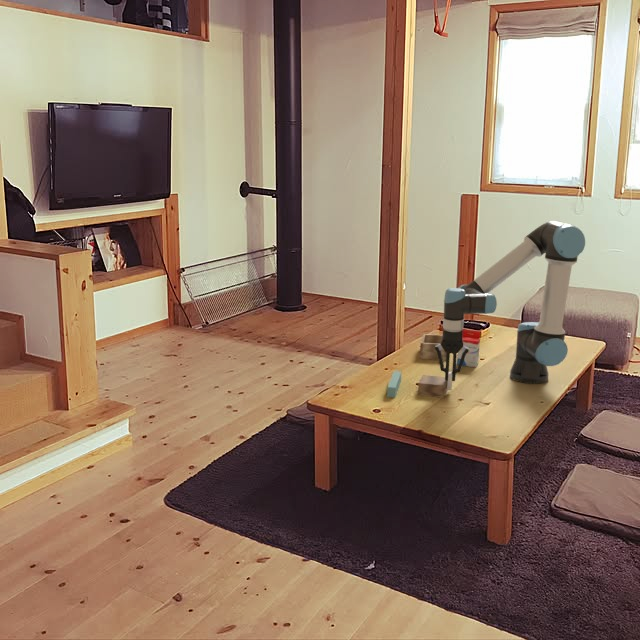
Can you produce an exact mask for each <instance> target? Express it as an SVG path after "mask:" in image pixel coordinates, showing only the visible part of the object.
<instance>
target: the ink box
mask: <svg viewBox="0 0 640 640" xmlns="http://www.w3.org/2000/svg"><path fill="white" fill-rule="evenodd" d="M462 331H463V340H462V341H463V344H464V346H465V347H468V348H469V351H468V353H467V354H466V355H465V358H464V362H463V365H462V367H463V366H464V367H472V368H477V367H478V365H479V360H480V358H479V357H480V343H481V338H480V336H481V332H480V331H476V330H470V329H469V330H468V329H462ZM462 353H463V352H462V349H461V350H460V351H459V352H458V353H457V357H456V366H458V365H459V362H460V359H461V356H462Z"/></svg>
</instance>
